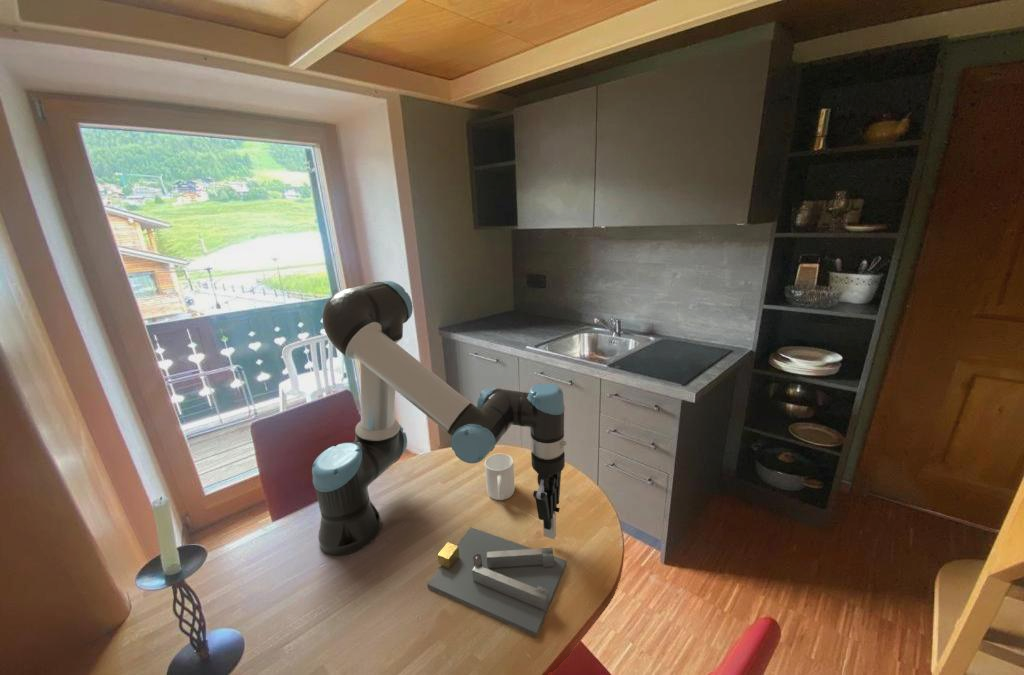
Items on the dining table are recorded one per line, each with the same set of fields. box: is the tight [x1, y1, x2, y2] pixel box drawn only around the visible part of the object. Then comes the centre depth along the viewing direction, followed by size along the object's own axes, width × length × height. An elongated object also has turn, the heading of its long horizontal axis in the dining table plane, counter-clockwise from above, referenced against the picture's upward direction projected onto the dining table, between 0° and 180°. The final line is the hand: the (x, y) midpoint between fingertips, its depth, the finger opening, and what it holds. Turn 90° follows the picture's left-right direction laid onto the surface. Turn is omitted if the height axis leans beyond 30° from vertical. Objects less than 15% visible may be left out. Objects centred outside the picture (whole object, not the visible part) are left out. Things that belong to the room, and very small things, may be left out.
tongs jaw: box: [487, 547, 555, 568], centre depth 89 cm, size 15×2×3 cm, turn 92°
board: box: [426, 526, 568, 638], centre depth 88 cm, size 26×18×1 cm
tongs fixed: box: [472, 554, 549, 611], centre depth 83 cm, size 18×3×4 cm, turn 64°
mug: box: [484, 452, 516, 501], centre depth 112 cm, size 12×8×10 cm
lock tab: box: [437, 541, 459, 569], centre depth 91 cm, size 3×4×3 cm
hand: (549, 535), depth 95 cm, fingers closed
